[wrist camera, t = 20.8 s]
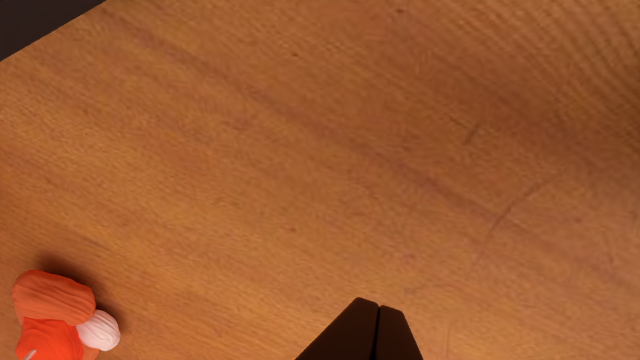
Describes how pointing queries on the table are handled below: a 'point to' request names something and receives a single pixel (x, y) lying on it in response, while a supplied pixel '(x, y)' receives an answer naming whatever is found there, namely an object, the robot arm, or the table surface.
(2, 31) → the stepped dark grey block
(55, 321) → the orange plush toy
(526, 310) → the table surface
